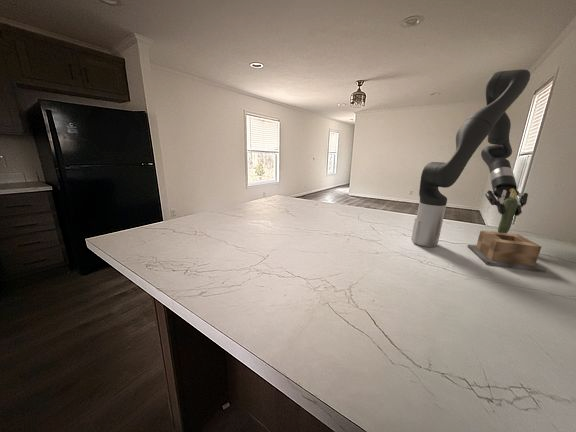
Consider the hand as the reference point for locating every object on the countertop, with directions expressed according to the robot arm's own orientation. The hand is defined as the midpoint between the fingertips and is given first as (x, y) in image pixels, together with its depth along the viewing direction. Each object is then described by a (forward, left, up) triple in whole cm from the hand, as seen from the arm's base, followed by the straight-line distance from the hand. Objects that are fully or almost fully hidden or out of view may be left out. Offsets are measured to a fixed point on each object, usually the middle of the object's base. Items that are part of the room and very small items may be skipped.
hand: (510, 213), depth 91 cm
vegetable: (0, +2, -10) cm, 10 cm away
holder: (-6, -14, -14) cm, 21 cm away
